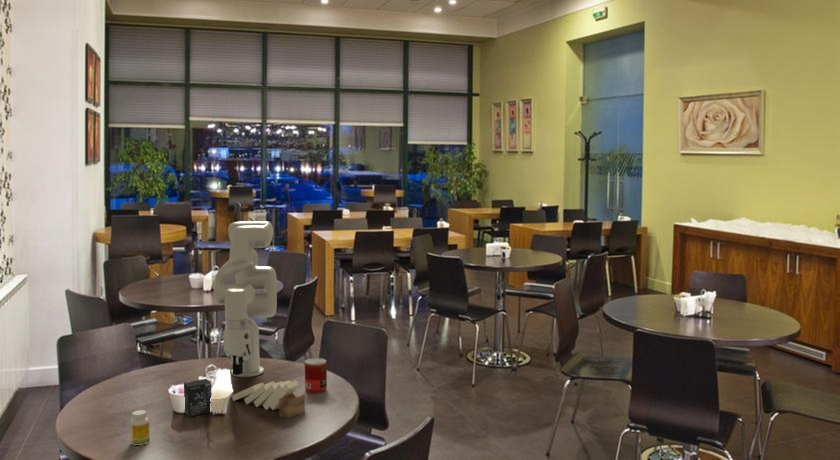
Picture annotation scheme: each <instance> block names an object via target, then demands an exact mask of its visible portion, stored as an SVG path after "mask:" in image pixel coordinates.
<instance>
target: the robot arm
mask: <svg viewBox="0 0 840 460" xmlns="http://www.w3.org/2000/svg"><path fill="white" fill-rule="evenodd" d="M227 232H228V233H227V234H228V238H229V242H230V244H229V245H230V247H229V257H228V260H227V261H226V262H225V263H223V265H222V266H221V267H220V268H219V269H218V271H217V273H216V274H215V278H214V285H213V286H214V287H213V299H214V301H213V302H215V304H217V305H220V306H224V317H225V318H224V319H225V323H224V324H225V326H224V330H223V351H224V353H225V357H228V358H229V359H230V361H229V365H230V366H232V369H231V371H230V374H231V376H233V377H237V378H251V377H256V376H260V375H262V374H263V373H265V370H264V367H262V366H260V365H261V363H260V362H261V361H260V331H259V326H258V324H257V323H256V322H255V321H254V319H262V318H265V319H267V318H273V317H275V315H276V314H277V308H278V307H277V305H278V303H277V302H278V299H277V298H278V296H277V295H278V287H277V285H278V284H277V283H278V280H277V273H276V269H275V268H273V267H272V266H267V265H266V266H265V265H264V266H262V265H261V266H259V265H258V257H259V256H258V254H257V251H256V250H255V248H259V249H260V248H261V249H262V248H268V247H269V246H270V245H271V242H272V241H273V237H274V227H273V224H272V222H270V221H267V220H266V221H265V220H264V221H261V220H259V221H258V220H257V221H255V220H254V221H251V220H249V221H248V220H245V221H244V220H243V221H233V222H231V223H230V224H229V225H228V229H227ZM233 275H235V276H234V277H235V281H234V282H235V283H225V281H226V280H227V279H228V278H230V277H232V276H233ZM256 291H263V292H262V293H261V292H260V293H257V292H256Z"/></svg>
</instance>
